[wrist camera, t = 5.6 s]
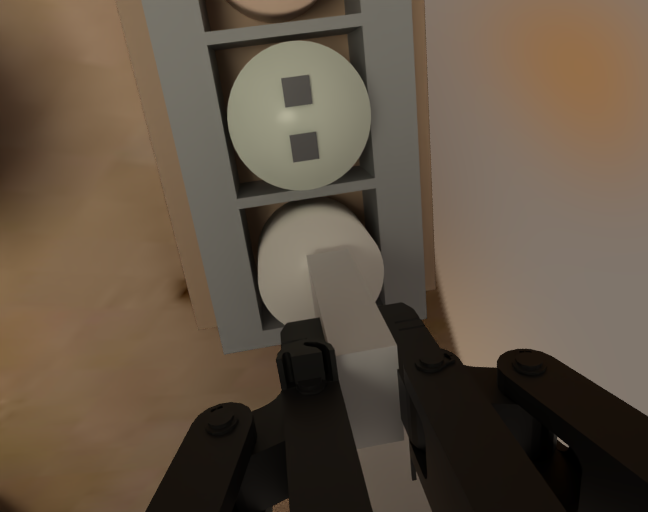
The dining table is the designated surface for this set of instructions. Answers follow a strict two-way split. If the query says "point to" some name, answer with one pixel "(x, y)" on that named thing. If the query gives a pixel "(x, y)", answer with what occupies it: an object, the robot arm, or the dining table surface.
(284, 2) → the button
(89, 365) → the dining table surface
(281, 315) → the button
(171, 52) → the console
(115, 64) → the dining table surface
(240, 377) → the dining table surface
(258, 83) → the button
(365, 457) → the cup
